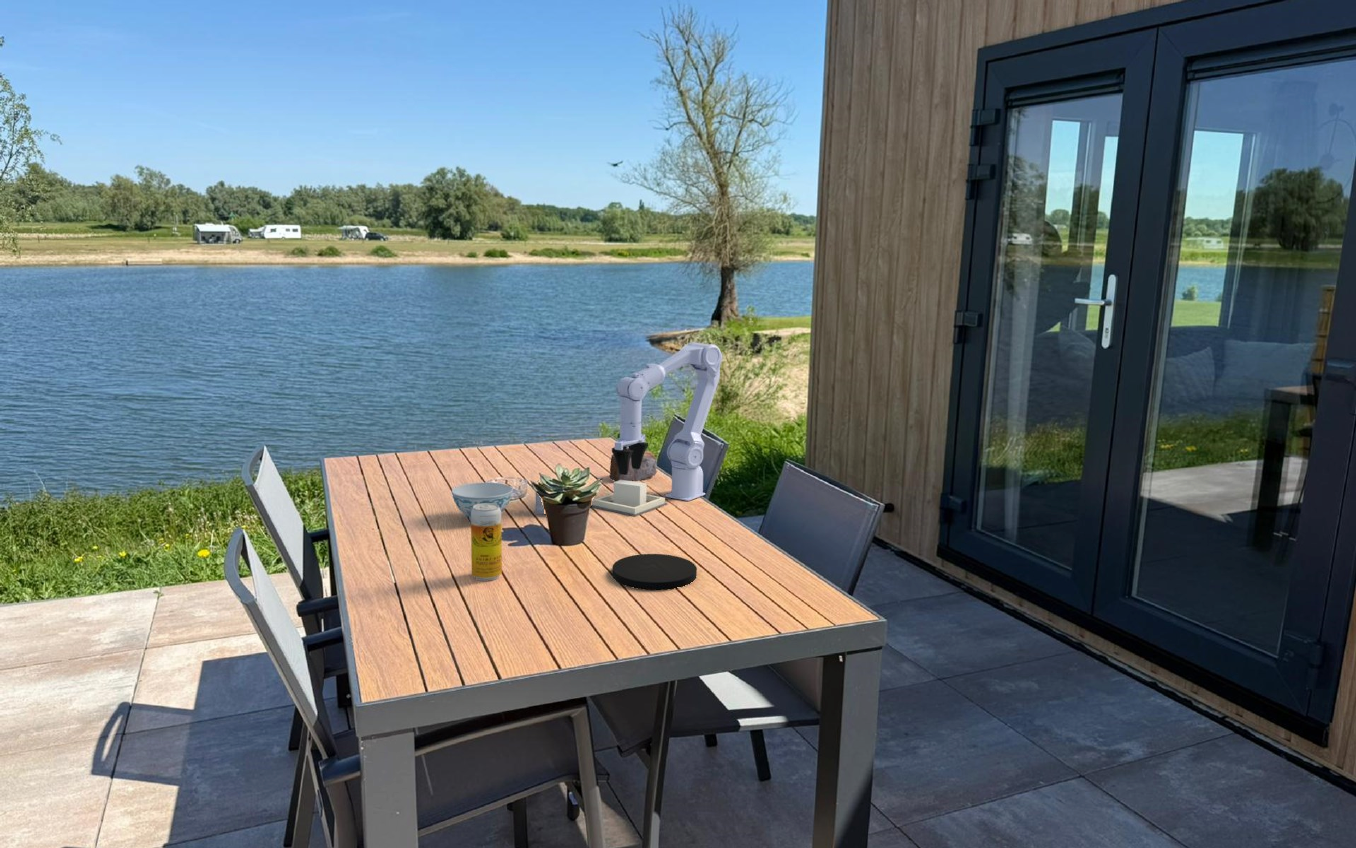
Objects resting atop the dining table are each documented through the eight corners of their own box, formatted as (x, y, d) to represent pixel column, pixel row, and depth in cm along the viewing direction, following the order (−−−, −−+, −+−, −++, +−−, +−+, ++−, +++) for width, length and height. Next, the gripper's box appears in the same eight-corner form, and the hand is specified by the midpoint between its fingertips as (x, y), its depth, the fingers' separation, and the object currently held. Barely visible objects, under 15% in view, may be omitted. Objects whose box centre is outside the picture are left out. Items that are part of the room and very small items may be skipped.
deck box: (620, 500, 238) (620, 479, 237) (646, 504, 235) (646, 483, 234) (613, 504, 234) (613, 482, 233) (639, 507, 231) (640, 486, 230)
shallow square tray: (623, 495, 245) (623, 489, 245) (667, 504, 237) (667, 497, 237) (590, 506, 233) (590, 500, 232) (635, 516, 224) (635, 509, 224)
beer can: (476, 583, 174) (475, 511, 171) (468, 573, 179) (467, 504, 177) (505, 579, 177) (504, 508, 174) (497, 570, 182) (496, 501, 179)
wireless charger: (679, 597, 170) (679, 587, 170) (598, 583, 177) (598, 574, 176) (707, 569, 187) (707, 560, 187) (632, 558, 193) (632, 549, 193)
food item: (644, 474, 272) (645, 443, 271) (658, 479, 266) (659, 448, 264) (607, 479, 264) (607, 447, 263) (620, 484, 258) (621, 452, 256)
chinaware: (439, 522, 214) (439, 492, 213) (475, 508, 228) (475, 480, 227) (490, 530, 209) (490, 500, 208) (524, 515, 223) (523, 486, 221)
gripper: (631, 427, 223) (631, 478, 225) (655, 419, 236) (654, 467, 238) (607, 425, 225) (607, 475, 228) (632, 417, 238) (631, 465, 241)
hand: (629, 471), depth 233 cm, fingers open, 7 cm apart
